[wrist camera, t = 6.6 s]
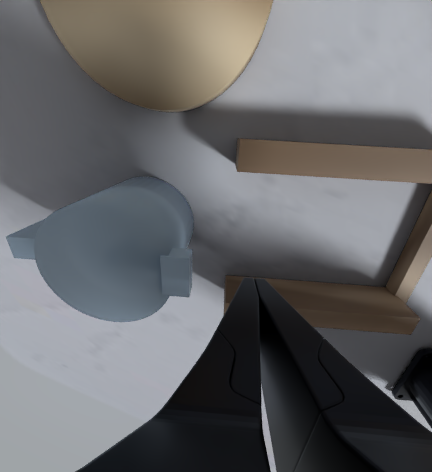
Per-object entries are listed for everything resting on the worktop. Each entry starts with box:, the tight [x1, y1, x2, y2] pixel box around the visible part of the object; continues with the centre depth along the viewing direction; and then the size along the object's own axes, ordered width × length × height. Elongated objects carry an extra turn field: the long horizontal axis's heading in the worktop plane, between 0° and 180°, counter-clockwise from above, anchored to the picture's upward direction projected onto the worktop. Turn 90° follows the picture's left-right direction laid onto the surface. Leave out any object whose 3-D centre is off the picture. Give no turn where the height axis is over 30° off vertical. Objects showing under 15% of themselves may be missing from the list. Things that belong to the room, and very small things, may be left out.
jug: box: [6, 177, 194, 322], centre depth 12 cm, size 6×9×6 cm, turn 87°
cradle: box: [224, 138, 432, 335], centre depth 13 cm, size 11×13×3 cm
